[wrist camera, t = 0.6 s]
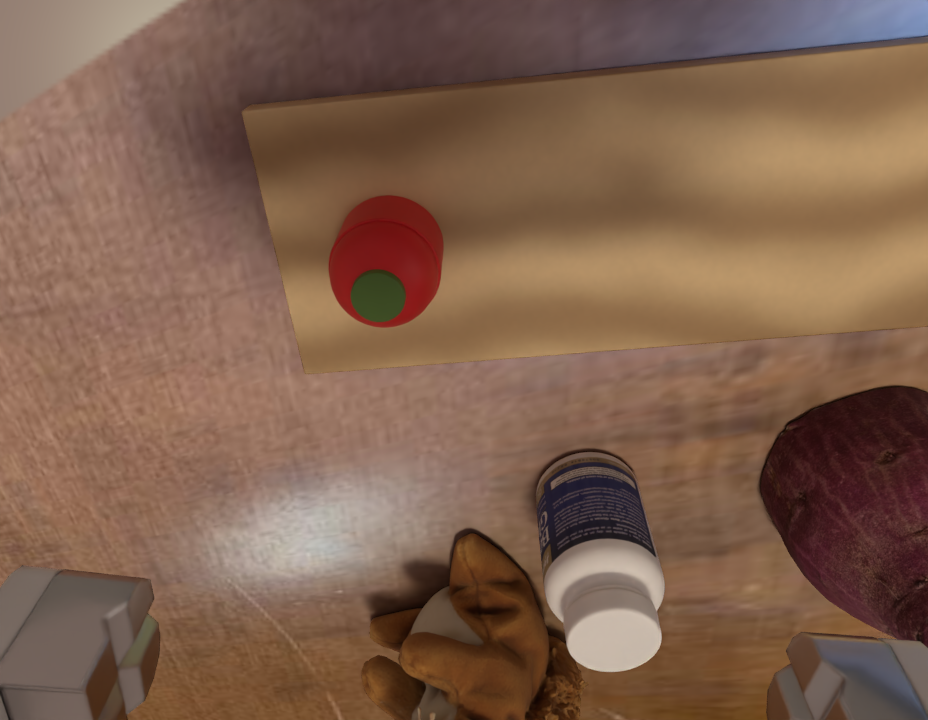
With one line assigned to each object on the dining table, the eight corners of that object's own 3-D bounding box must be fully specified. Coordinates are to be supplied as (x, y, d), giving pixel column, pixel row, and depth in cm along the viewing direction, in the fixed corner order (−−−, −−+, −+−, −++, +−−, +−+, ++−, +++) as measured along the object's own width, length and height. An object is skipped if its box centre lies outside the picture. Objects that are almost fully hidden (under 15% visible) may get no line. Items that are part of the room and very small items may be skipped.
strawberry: (330, 199, 31) (306, 247, 27) (437, 189, 31) (430, 236, 26) (349, 296, 33) (329, 355, 29) (449, 288, 33) (444, 346, 29)
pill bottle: (519, 467, 40) (530, 618, 31) (618, 434, 38) (657, 581, 30) (555, 539, 42) (575, 696, 34) (650, 510, 41) (694, 665, 32)
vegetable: (715, 439, 42) (714, 637, 29) (892, 332, 37) (986, 515, 24) (833, 569, 44) (882, 814, 31) (1020, 483, 38) (1174, 733, 26)
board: (248, 104, 30) (240, 111, 29) (1377, -10, 28) (1412, -7, 27) (309, 362, 36) (304, 375, 35) (1240, 289, 34) (1264, 301, 33)
